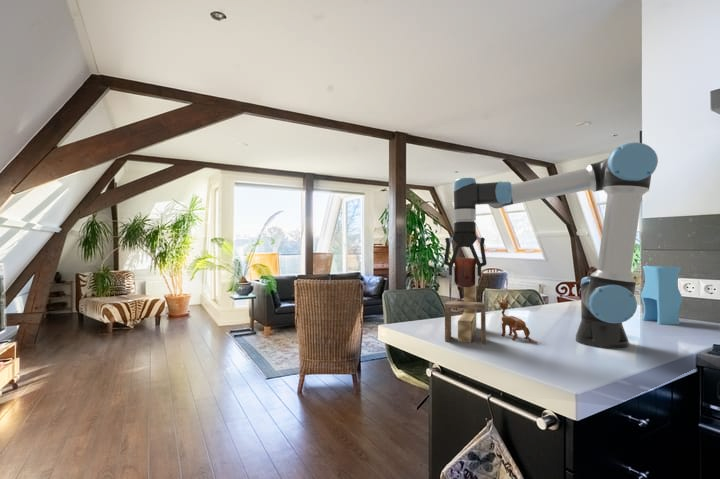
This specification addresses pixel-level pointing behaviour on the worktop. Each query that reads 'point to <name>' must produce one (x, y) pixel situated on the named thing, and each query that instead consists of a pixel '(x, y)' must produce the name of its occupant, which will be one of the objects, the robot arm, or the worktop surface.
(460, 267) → the mug
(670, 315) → the blue arched block
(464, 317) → the wooden stepped block
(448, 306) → the brown wooden frame
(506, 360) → the worktop surface
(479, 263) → the robot arm
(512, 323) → the orange brown animal figurine
